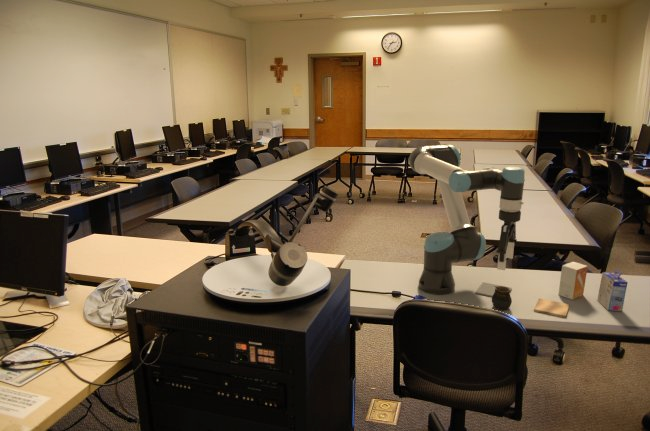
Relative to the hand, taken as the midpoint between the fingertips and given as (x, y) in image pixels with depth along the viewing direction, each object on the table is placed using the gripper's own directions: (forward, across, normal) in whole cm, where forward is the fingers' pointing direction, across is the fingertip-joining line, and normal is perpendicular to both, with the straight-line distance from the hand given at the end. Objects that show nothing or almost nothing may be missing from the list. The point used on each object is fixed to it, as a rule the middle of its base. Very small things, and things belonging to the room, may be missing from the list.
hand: (505, 263), depth 182 cm
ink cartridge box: (+19, +23, -36) cm, 46 cm away
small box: (+19, +26, -22) cm, 39 cm away
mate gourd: (+19, 0, 0) cm, 19 cm away
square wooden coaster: (+18, +9, -17) cm, 26 cm away
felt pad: (+18, +14, +6) cm, 24 cm away
